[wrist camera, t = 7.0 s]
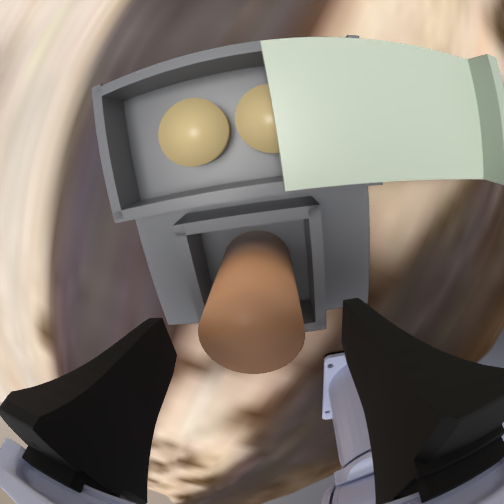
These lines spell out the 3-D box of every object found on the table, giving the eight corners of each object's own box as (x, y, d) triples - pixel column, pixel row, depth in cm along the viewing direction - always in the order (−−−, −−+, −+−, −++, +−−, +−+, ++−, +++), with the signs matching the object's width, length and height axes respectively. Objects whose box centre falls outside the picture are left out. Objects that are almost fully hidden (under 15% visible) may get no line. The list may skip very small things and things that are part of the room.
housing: (363, 295, 18) (379, 324, 15) (172, 316, 19) (157, 346, 16) (342, 55, 12) (360, 35, 9) (120, 96, 14) (90, 88, 10)
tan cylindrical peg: (293, 288, 17) (306, 369, 10) (229, 294, 17) (211, 375, 11) (287, 226, 15) (302, 286, 9) (218, 234, 16) (186, 296, 9)
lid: (482, 176, 11) (512, 185, 8) (284, 188, 12) (289, 199, 9) (468, 64, 8) (496, 57, 6) (260, 47, 9) (259, 23, 7)
